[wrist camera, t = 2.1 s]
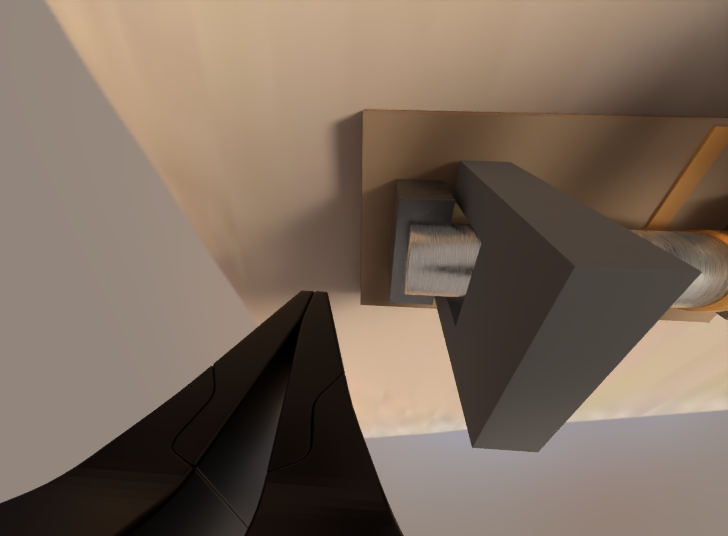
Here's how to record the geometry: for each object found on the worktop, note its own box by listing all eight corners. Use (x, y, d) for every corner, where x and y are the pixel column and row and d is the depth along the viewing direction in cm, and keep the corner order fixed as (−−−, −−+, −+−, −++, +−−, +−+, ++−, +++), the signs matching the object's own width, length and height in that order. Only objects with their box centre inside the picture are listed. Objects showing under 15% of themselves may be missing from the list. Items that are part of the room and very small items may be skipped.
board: (857, 120, 11) (924, 125, 9) (683, 304, 16) (710, 323, 15) (364, 109, 11) (362, 112, 10) (362, 289, 17) (360, 305, 16)
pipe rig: (807, 192, 11) (999, 238, 8) (714, 286, 14) (823, 351, 10) (396, 179, 12) (402, 216, 8) (388, 272, 14) (390, 328, 11)
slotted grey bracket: (510, 162, 11) (701, 271, 4) (469, 292, 14) (537, 451, 8) (460, 160, 11) (575, 266, 4) (432, 290, 14) (472, 447, 8)
